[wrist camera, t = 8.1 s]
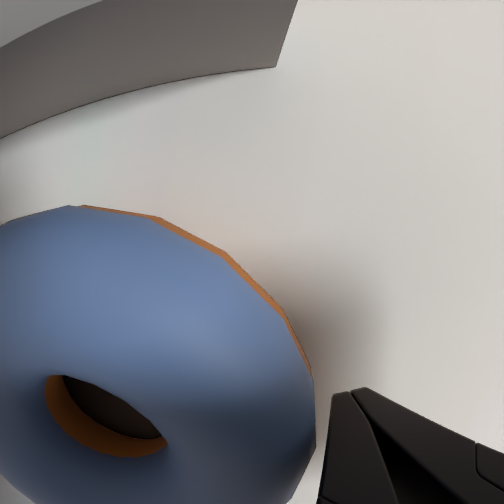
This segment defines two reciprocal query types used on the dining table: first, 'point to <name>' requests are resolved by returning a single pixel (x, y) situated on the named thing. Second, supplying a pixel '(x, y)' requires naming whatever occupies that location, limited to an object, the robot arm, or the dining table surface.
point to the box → (122, 56)
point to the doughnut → (145, 366)
